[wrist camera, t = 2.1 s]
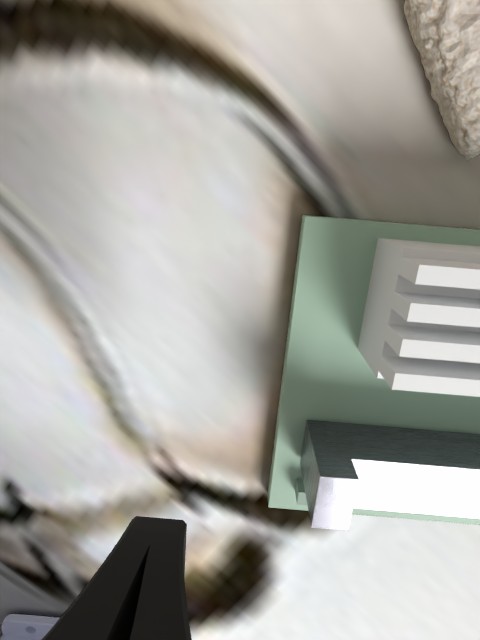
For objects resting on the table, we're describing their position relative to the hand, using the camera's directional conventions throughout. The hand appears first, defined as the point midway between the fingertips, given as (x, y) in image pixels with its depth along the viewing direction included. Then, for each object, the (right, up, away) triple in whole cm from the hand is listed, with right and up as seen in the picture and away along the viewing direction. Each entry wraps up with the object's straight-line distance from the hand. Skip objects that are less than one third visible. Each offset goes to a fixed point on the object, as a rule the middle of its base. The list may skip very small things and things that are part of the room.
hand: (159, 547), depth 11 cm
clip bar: (+9, +1, +6) cm, 11 cm away
